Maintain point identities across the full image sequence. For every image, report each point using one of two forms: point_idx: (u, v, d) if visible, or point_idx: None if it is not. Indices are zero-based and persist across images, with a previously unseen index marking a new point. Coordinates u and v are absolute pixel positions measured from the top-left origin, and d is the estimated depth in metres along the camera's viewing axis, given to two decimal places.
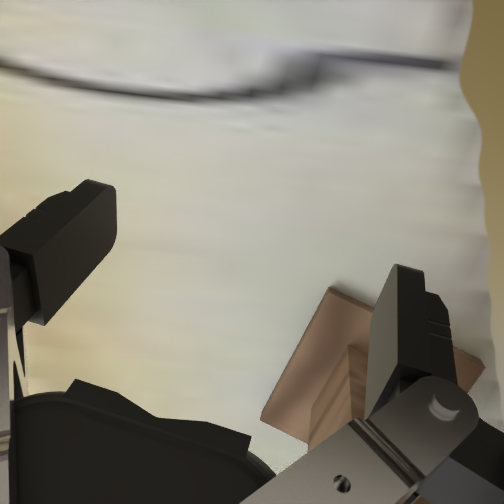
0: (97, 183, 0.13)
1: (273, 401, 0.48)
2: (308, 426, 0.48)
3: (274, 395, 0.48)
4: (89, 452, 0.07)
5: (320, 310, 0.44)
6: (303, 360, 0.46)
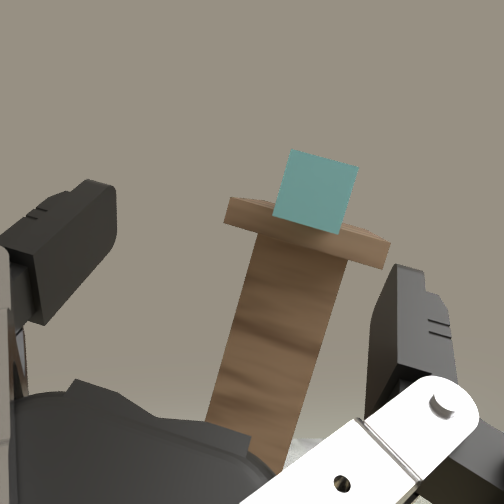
0: (97, 183, 0.13)
1: None
2: None
3: None
4: (89, 452, 0.07)
5: None
6: None
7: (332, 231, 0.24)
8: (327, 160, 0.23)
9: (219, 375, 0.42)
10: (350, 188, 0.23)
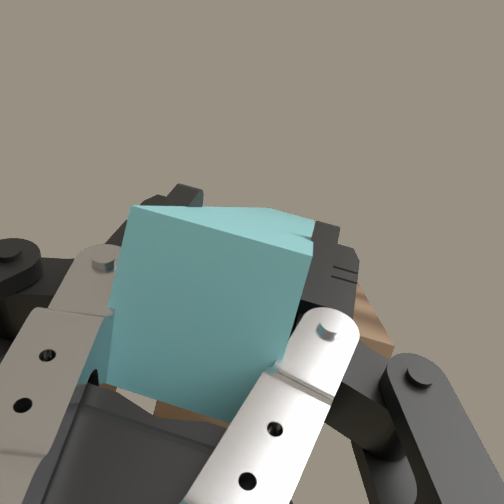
0: (189, 187, 0.13)
1: None
2: None
3: None
4: (89, 452, 0.07)
5: None
6: None
7: None
8: (227, 237, 0.09)
9: None
10: (291, 313, 0.09)
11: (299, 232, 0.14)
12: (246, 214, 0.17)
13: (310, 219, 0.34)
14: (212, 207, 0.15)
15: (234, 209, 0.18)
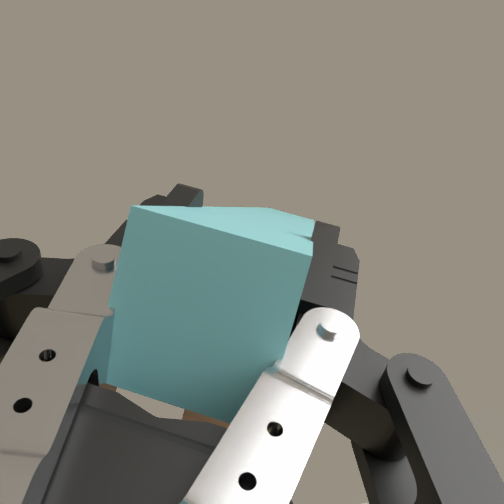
0: (189, 187, 0.13)
1: None
2: None
3: None
4: (89, 452, 0.07)
5: None
6: None
7: None
8: (227, 237, 0.09)
9: None
10: (291, 312, 0.09)
11: (299, 232, 0.14)
12: (246, 214, 0.17)
13: (310, 219, 0.34)
14: (212, 207, 0.15)
15: (234, 209, 0.18)
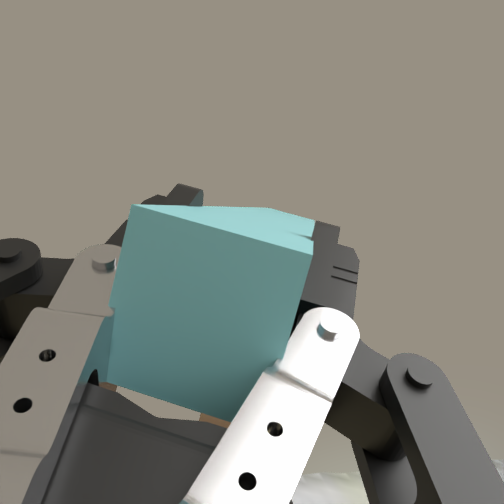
0: (189, 187, 0.13)
1: None
2: None
3: None
4: (89, 452, 0.07)
5: None
6: None
7: None
8: (227, 235, 0.09)
9: None
10: (291, 311, 0.09)
11: (299, 231, 0.14)
12: (246, 214, 0.17)
13: (310, 219, 0.34)
14: (212, 207, 0.15)
15: (234, 209, 0.18)
